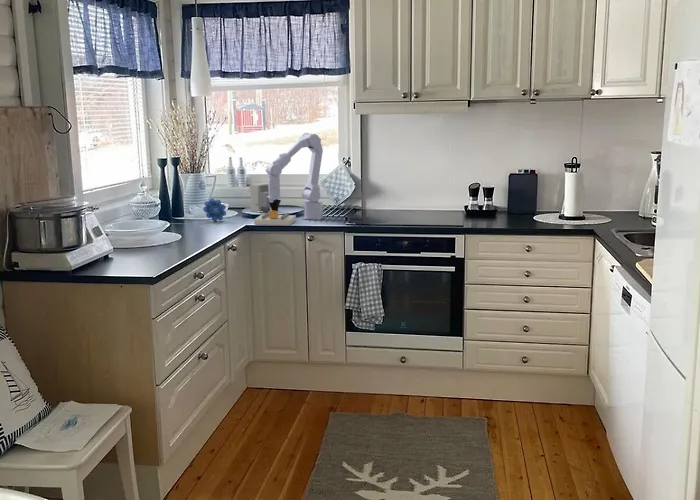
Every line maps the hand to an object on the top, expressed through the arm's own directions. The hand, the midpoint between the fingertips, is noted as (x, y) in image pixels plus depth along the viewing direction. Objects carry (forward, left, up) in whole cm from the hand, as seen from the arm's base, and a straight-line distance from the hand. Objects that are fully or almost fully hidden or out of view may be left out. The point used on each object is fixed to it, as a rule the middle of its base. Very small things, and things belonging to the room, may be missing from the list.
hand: (274, 214), depth 365 cm
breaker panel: (0, 0, -4) cm, 4 cm away
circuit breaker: (+14, -28, -4) cm, 32 cm away
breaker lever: (0, +3, -1) cm, 3 cm away
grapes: (+31, +3, -4) cm, 31 cm away
